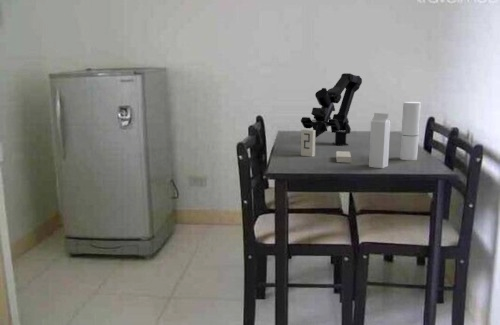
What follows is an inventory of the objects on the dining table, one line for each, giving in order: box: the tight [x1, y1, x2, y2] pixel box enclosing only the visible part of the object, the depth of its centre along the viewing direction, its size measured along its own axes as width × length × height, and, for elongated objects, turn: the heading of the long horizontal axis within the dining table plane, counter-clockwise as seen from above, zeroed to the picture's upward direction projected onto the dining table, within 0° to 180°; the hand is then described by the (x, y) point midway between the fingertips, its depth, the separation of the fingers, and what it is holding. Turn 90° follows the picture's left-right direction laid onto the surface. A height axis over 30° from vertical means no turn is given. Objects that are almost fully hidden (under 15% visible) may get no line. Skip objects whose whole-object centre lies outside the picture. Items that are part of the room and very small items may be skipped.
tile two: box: [300, 128, 316, 158], centre depth 216 cm, size 3×6×12 cm, turn 54°
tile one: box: [335, 150, 352, 164], centre depth 207 cm, size 3×6×12 cm
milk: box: [368, 112, 391, 169], centre depth 192 cm, size 6×6×22 cm
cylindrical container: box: [399, 101, 422, 161], centre depth 206 cm, size 7×7×25 cm
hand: (313, 137), depth 220 cm, fingers closed
